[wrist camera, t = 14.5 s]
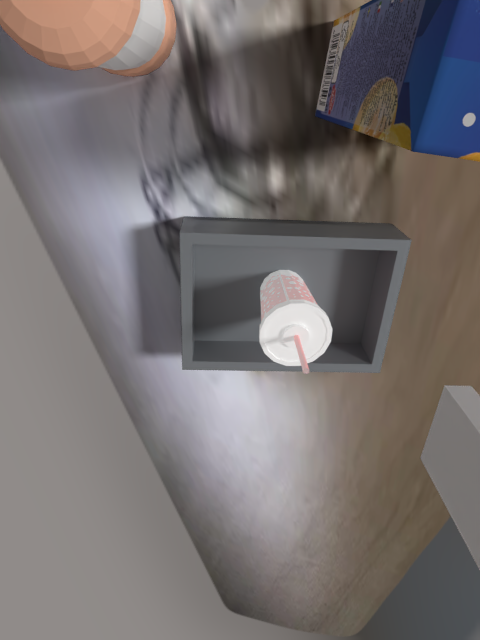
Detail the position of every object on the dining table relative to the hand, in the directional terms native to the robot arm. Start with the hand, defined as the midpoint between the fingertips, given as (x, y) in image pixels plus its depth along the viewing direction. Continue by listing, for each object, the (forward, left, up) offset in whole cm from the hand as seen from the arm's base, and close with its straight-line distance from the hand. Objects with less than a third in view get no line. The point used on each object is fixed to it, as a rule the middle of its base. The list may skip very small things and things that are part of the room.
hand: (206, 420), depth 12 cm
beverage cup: (+10, +7, -31) cm, 33 cm away
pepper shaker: (-12, -7, -32) cm, 35 cm away
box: (+10, +7, -32) cm, 34 cm away
